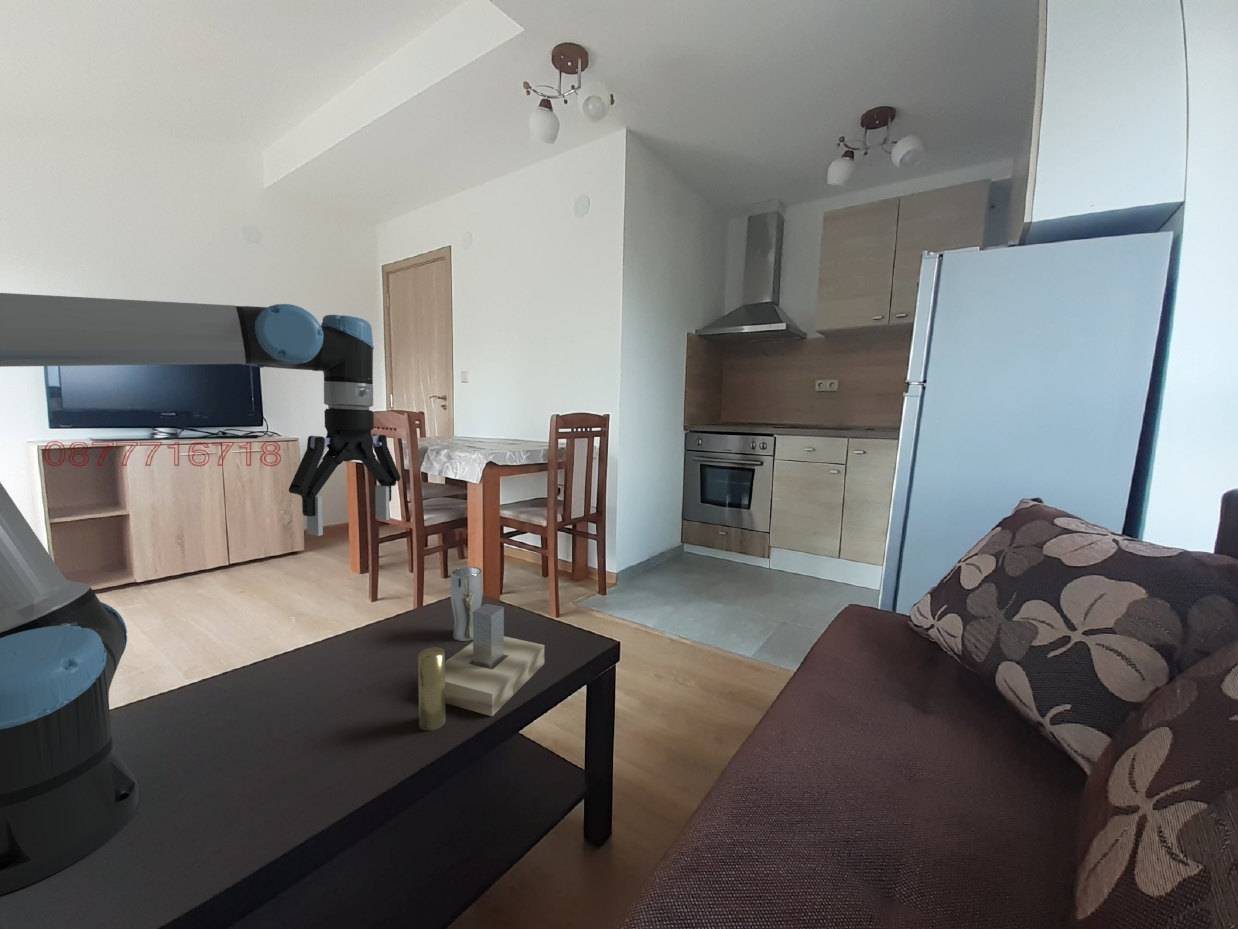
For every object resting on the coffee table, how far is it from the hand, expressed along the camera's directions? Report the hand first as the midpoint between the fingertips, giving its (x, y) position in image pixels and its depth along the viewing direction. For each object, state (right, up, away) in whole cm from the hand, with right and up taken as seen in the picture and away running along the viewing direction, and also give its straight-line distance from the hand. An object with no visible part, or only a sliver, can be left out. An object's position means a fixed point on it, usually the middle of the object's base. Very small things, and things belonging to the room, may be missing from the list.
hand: (351, 526), depth 85 cm
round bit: (+18, -31, -8) cm, 37 cm away
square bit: (+23, -30, +5) cm, 38 cm away
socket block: (+23, -30, +5) cm, 38 cm away
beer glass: (+14, -28, +22) cm, 38 cm away
